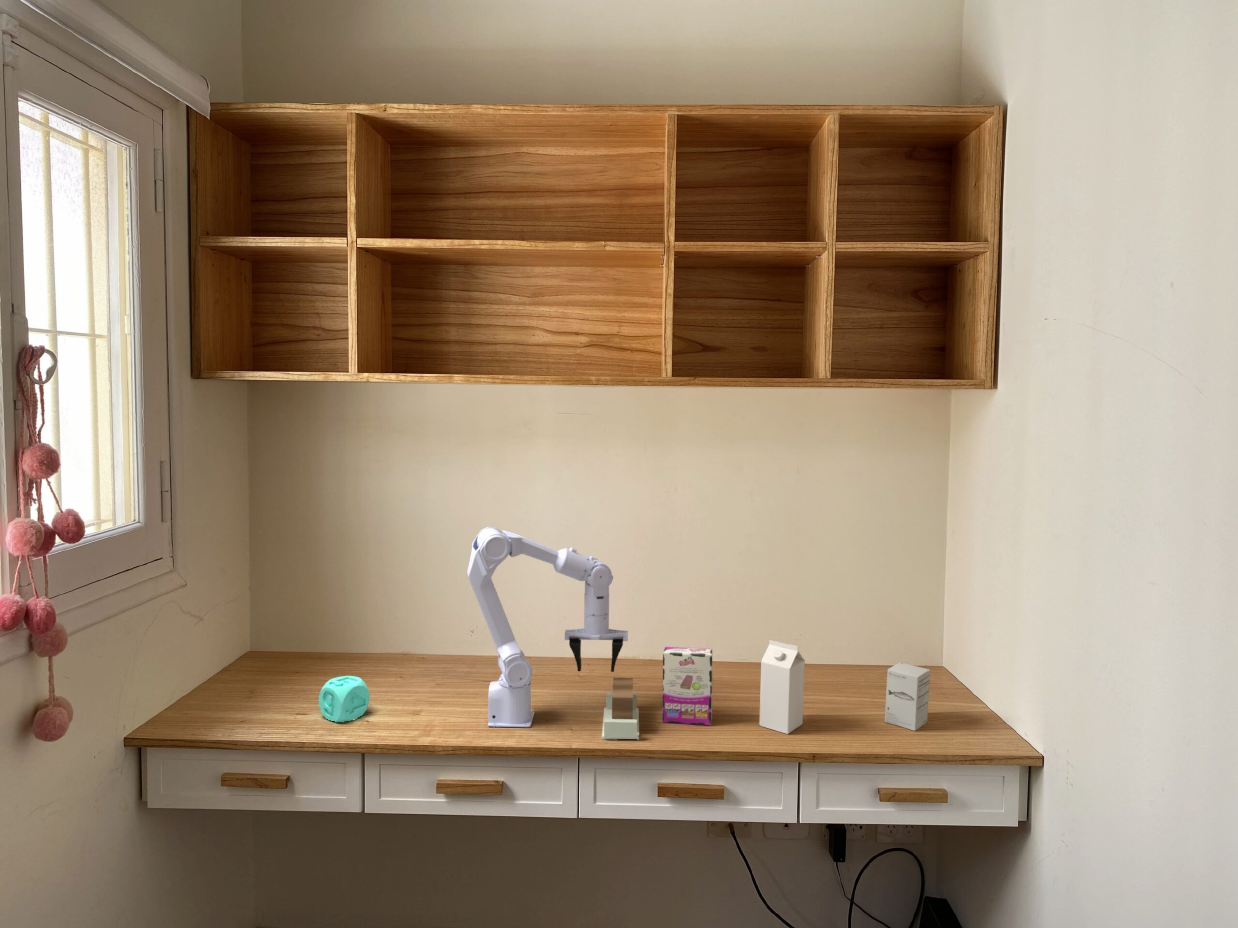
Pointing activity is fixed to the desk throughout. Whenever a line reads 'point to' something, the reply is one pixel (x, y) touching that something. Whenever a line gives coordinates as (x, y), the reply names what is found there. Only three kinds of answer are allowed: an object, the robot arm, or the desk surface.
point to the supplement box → (907, 696)
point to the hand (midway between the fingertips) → (596, 670)
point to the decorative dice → (344, 698)
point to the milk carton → (782, 687)
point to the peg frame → (620, 722)
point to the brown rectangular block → (622, 698)
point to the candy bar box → (687, 686)
